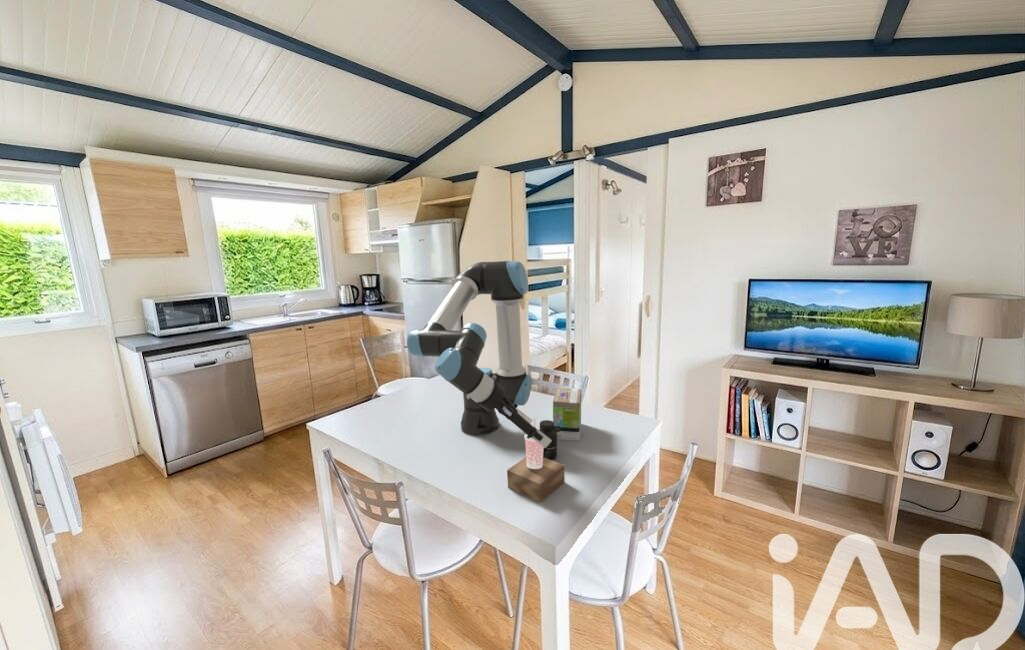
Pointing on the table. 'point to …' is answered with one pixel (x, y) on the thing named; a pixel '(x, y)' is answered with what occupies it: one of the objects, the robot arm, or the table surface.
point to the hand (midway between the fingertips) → (538, 433)
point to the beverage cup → (533, 453)
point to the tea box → (567, 413)
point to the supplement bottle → (551, 433)
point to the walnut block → (536, 479)
